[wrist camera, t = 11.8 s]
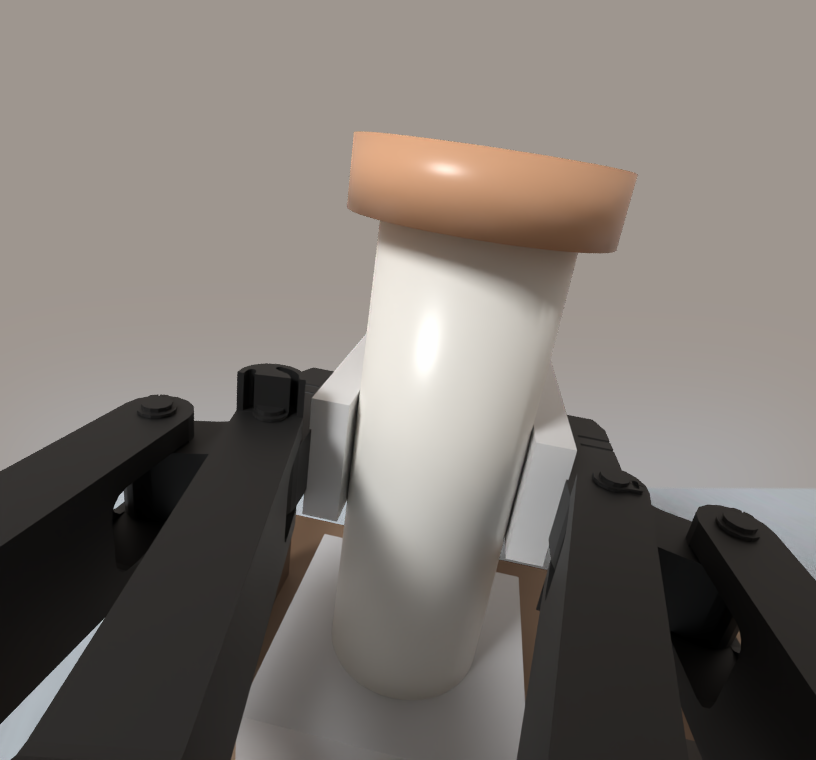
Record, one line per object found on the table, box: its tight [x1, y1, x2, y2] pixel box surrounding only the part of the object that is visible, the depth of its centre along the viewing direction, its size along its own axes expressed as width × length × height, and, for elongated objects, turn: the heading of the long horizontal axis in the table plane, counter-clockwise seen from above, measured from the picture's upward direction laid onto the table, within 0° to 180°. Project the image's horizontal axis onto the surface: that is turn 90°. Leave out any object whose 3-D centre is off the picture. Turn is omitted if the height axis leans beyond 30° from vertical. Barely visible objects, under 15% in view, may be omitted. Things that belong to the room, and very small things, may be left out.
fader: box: [235, 131, 638, 760], centre depth 12 cm, size 6×6×13 cm
